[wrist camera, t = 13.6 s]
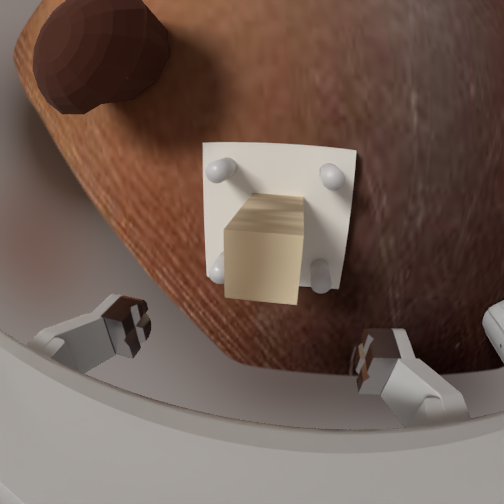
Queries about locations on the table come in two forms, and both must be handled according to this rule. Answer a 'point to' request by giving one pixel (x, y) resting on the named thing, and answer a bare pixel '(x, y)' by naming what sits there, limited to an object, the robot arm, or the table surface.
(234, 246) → the block
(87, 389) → the robot arm
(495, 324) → the photo printer
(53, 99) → the muffin
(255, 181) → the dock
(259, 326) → the table surface
